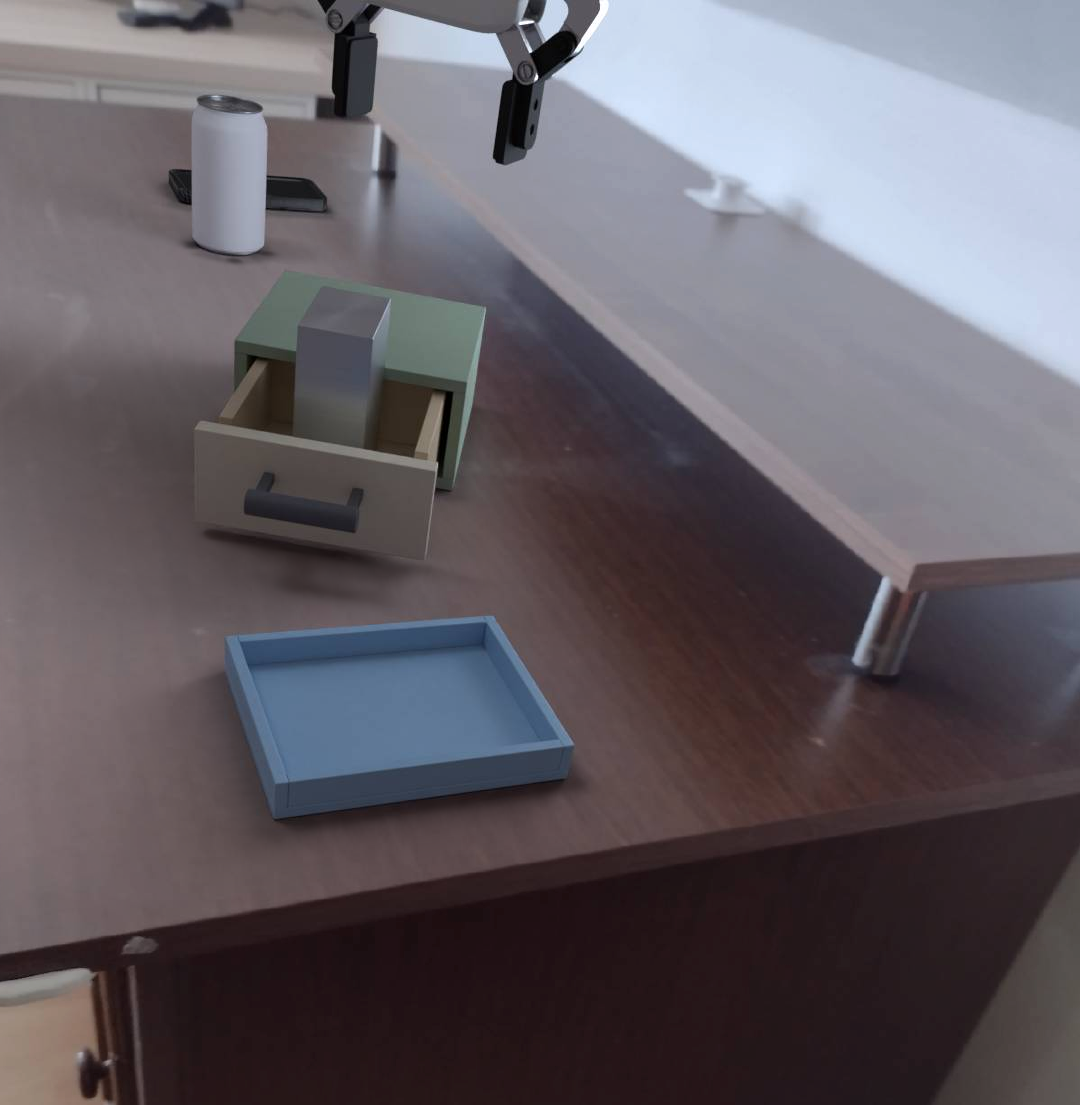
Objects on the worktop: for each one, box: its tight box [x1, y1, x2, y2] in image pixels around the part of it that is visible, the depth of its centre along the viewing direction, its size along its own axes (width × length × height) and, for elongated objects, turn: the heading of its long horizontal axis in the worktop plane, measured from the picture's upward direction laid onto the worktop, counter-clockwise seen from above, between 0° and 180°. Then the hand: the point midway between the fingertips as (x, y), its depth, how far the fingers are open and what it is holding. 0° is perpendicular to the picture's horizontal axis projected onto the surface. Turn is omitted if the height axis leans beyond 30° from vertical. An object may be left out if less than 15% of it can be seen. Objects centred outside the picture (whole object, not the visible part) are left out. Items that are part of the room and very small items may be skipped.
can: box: [191, 94, 268, 256], centre depth 107 cm, size 6×6×12 cm
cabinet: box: [233, 269, 487, 492], centre depth 82 cm, size 15×15×8 cm
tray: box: [224, 615, 575, 820], centre depth 58 cm, size 14×11×2 cm
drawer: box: [193, 356, 447, 562], centre depth 71 cm, size 17×13×6 cm
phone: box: [168, 168, 328, 212], centre depth 123 cm, size 8×1×15 cm
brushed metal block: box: [292, 286, 391, 452], centre depth 72 cm, size 4×7×10 cm, turn 177°
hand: (430, 137), depth 65 cm, fingers open, 9 cm apart
